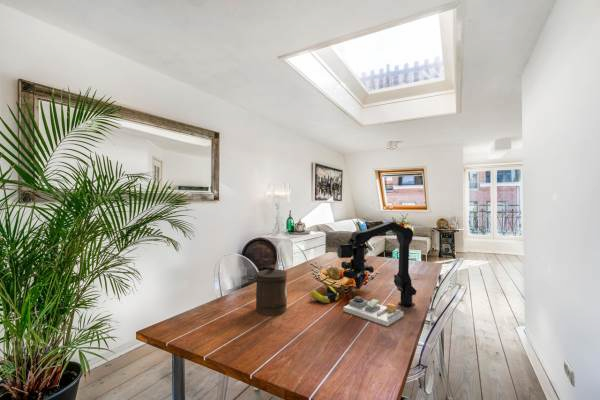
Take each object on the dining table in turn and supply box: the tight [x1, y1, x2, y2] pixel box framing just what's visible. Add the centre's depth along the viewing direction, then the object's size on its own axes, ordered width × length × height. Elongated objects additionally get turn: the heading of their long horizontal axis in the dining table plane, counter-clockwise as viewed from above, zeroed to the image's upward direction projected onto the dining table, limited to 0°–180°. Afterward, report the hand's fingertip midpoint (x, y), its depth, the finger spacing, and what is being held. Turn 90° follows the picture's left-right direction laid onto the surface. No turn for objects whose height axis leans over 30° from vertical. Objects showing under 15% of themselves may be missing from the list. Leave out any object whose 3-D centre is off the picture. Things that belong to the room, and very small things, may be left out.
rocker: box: [367, 298, 380, 308], centre depth 135 cm, size 6×3×1 cm, turn 134°
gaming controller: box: [311, 285, 339, 304], centre depth 153 cm, size 15×6×10 cm
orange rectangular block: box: [386, 302, 397, 313], centre depth 131 cm, size 2×4×3 cm, turn 45°
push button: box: [353, 295, 364, 303], centre depth 141 cm, size 4×4×2 cm
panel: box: [343, 298, 404, 327], centre depth 135 cm, size 15×23×4 cm, turn 45°
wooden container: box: [255, 264, 288, 317], centre depth 139 cm, size 15×15×22 cm
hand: (358, 288), depth 141 cm, fingers closed
